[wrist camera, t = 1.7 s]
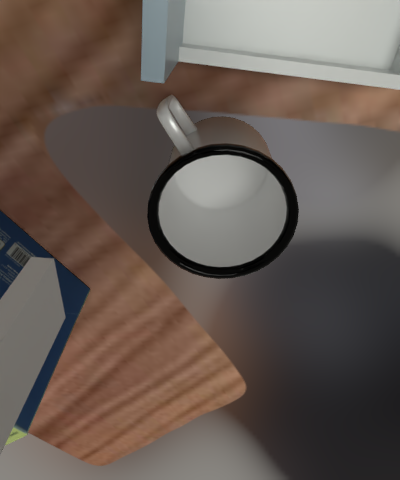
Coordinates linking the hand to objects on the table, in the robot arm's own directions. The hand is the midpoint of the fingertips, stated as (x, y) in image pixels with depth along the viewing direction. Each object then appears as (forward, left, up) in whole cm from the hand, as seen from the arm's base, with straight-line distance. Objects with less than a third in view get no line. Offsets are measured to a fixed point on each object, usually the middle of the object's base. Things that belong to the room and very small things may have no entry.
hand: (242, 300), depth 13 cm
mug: (-1, -2, -19) cm, 19 cm away
